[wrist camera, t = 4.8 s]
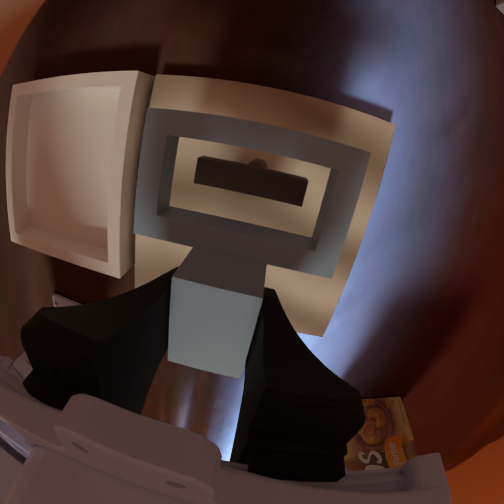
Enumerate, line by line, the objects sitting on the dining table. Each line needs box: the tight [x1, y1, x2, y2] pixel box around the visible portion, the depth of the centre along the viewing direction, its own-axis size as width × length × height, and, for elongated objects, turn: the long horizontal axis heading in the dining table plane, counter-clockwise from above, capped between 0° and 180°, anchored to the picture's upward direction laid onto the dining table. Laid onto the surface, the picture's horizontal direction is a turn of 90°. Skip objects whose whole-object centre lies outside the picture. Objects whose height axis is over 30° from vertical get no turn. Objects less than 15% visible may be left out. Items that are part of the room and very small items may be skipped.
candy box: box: [344, 397, 418, 471], centre depth 19 cm, size 9×4×15 cm, turn 88°
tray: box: [6, 71, 155, 278], centre depth 17 cm, size 14×13×2 cm
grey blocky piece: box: [133, 107, 371, 378], centre depth 11 cm, size 9×8×4 cm
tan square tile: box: [135, 75, 395, 337], centre depth 16 cm, size 16×15×6 cm
